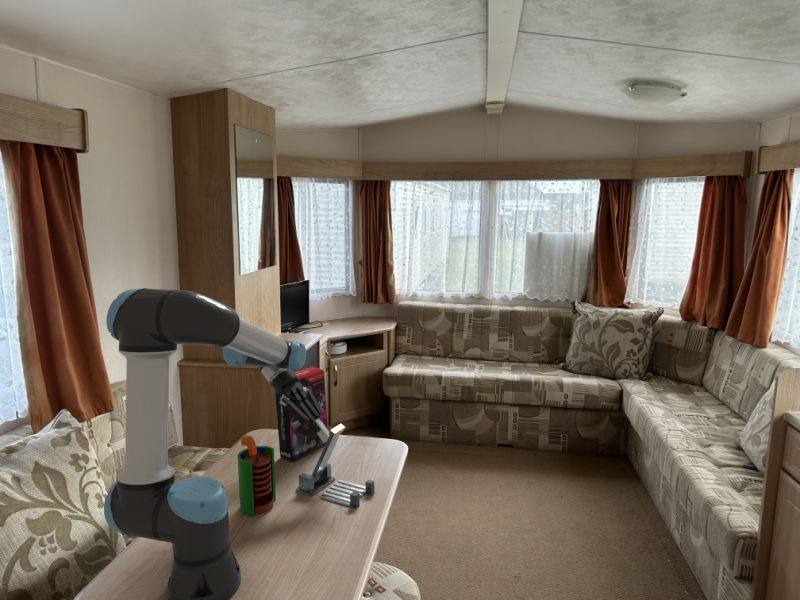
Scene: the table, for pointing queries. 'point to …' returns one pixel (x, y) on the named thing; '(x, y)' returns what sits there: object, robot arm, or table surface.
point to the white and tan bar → (327, 452)
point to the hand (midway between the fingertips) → (328, 439)
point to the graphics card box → (291, 432)
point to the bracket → (334, 488)
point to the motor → (256, 478)
